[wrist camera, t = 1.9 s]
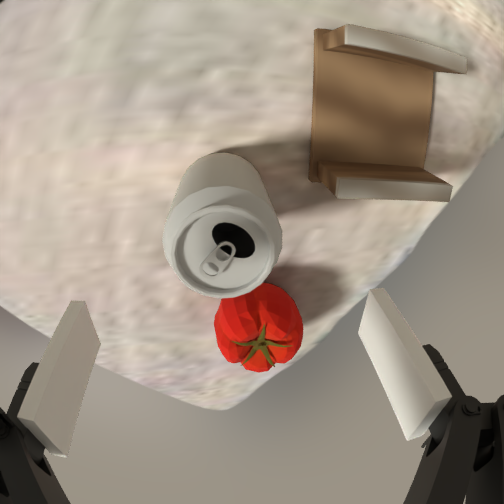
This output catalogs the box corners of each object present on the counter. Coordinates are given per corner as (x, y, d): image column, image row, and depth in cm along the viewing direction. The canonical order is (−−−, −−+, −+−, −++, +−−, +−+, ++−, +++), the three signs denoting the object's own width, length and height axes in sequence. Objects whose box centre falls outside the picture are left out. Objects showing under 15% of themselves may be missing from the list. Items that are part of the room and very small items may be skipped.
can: (279, 186, 29) (313, 250, 19) (225, 242, 31) (230, 326, 21) (217, 133, 26) (214, 167, 16) (164, 195, 28) (133, 265, 18)
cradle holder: (314, 30, 22) (341, 16, 16) (428, 53, 23) (471, 54, 17) (308, 179, 29) (330, 204, 23) (415, 183, 30) (451, 207, 24)
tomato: (305, 311, 37) (321, 358, 30) (240, 342, 38) (245, 391, 32) (268, 252, 32) (281, 298, 26) (195, 291, 34) (192, 341, 27)
